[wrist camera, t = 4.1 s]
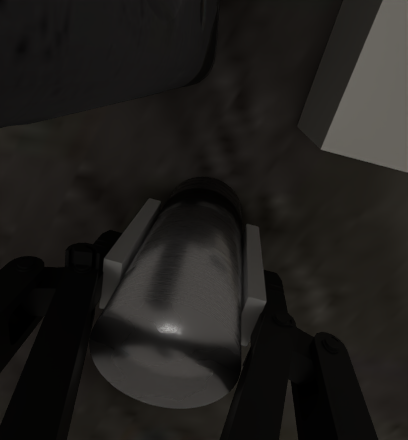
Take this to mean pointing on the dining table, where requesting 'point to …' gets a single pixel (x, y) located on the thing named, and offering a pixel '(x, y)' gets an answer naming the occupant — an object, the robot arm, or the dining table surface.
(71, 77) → the electronic device
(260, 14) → the dining table surface
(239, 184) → the dining table surface
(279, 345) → the robot arm
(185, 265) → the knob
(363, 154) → the grey base with ring
